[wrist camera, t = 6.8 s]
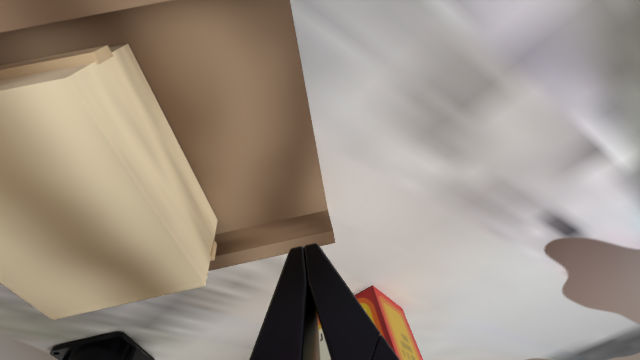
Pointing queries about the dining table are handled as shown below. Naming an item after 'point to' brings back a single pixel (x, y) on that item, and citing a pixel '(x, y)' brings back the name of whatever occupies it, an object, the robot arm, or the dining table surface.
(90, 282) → the cream slab
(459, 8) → the dining table surface
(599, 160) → the dining table surface
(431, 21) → the dining table surface
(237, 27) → the crate bay
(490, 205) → the dining table surface
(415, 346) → the baking soda box
